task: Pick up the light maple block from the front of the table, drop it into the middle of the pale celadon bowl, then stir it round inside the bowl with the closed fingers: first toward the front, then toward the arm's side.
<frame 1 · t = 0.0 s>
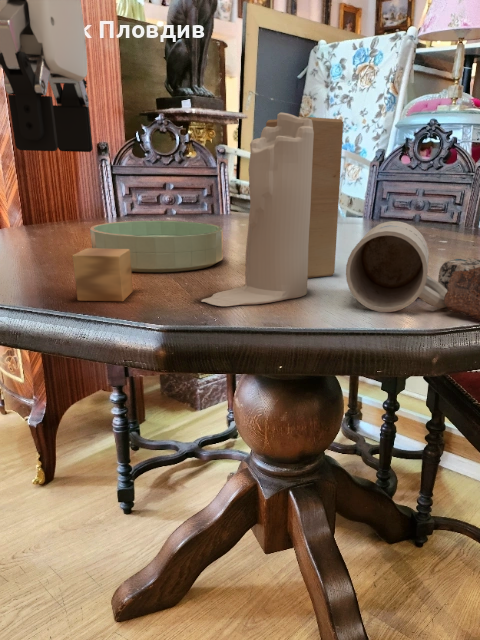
hand: (58, 151, 50), 15 cm above the table, tool pointing down, fingers open, 9 cm apart
decorative block: (298, 271, 82), on the table
block: (106, 296, 64), on the table
bowl: (159, 261, 85), on the table
candle: (256, 297, 66), on the table
stone: (471, 303, 62), point 1 cm above the table
mug: (403, 267, 69), point 3 cm above the table
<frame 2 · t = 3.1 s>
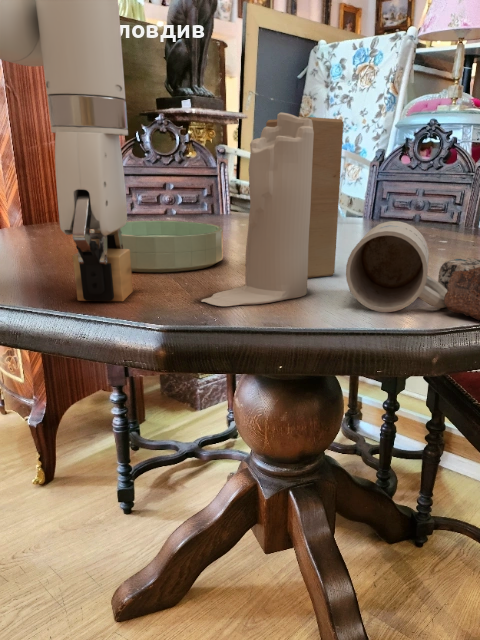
hand: (105, 292, 64), 0 cm above the table, tool pointing down, fingers closed on block, 5 cm apart
block: (106, 296, 64), on the table, touching gripper
everything else where it was.
when the fingers open (1 cm above the table, at t = 10.3 s): block stays where it is, resting on bowl.
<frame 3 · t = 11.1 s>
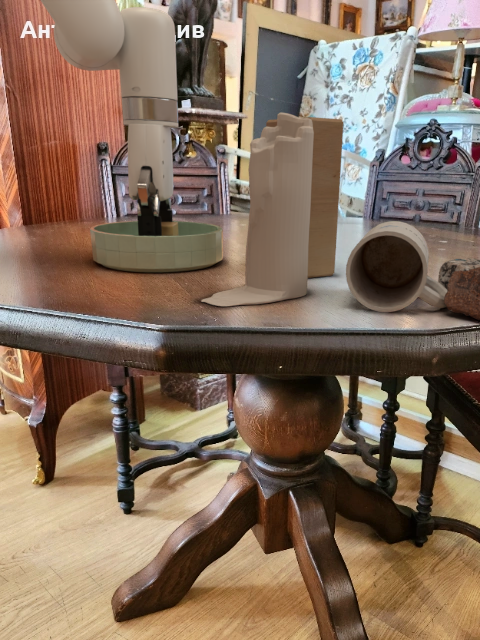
hand: (157, 240, 84), 3 cm above the table, tool pointing down, fingers open, 9 cm apart
block: (160, 257, 85), point 1 cm above the table, touching bowl
everything else where it was.
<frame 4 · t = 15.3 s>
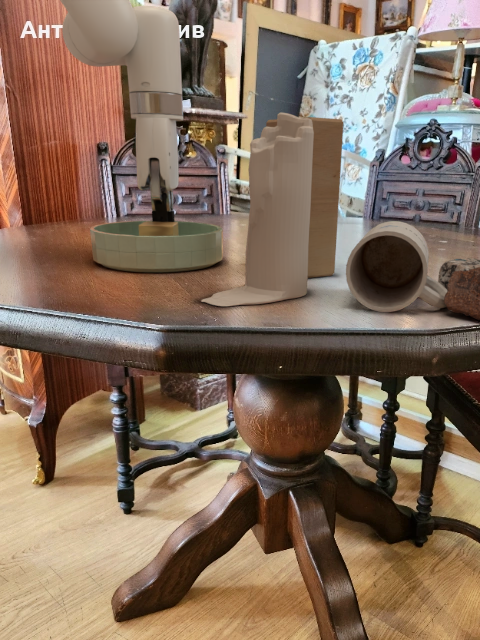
hand: (164, 237, 88), 3 cm above the table, tool pointing down, fingers closed
block: (160, 257, 85), point 1 cm above the table, touching bowl, gripper
everything else where it was.
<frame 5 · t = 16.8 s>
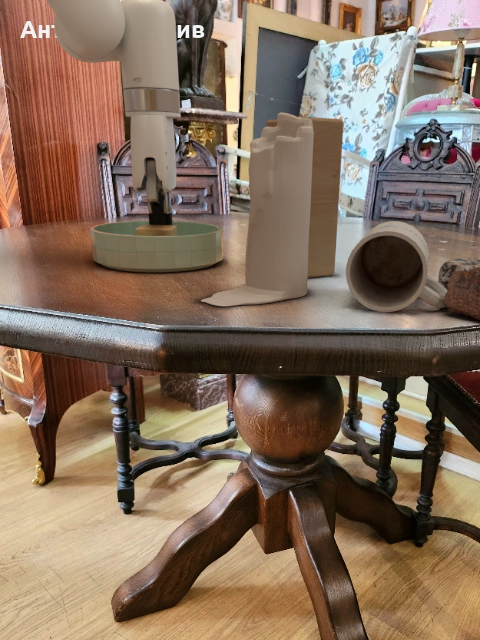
hand: (162, 240, 85), 3 cm above the table, tool pointing down, fingers closed
block: (158, 262, 81), point 1 cm above the table, touching bowl, gripper
everything else where it was.
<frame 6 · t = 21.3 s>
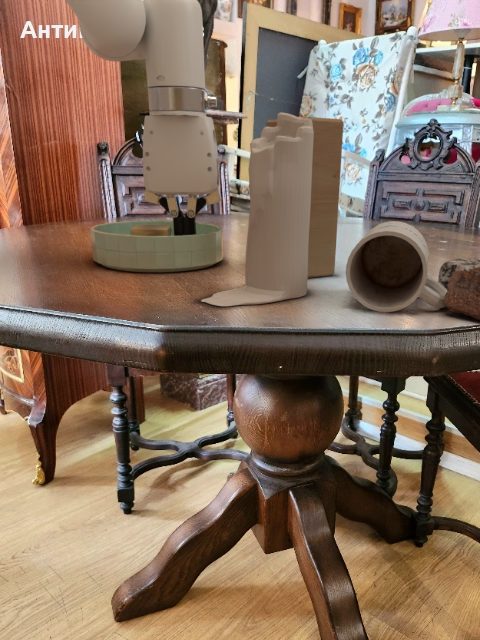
hand: (185, 244, 82), 3 cm above the table, tool pointing down, fingers closed
block: (153, 262, 81), point 1 cm above the table, touching gripper
everything else where it was.
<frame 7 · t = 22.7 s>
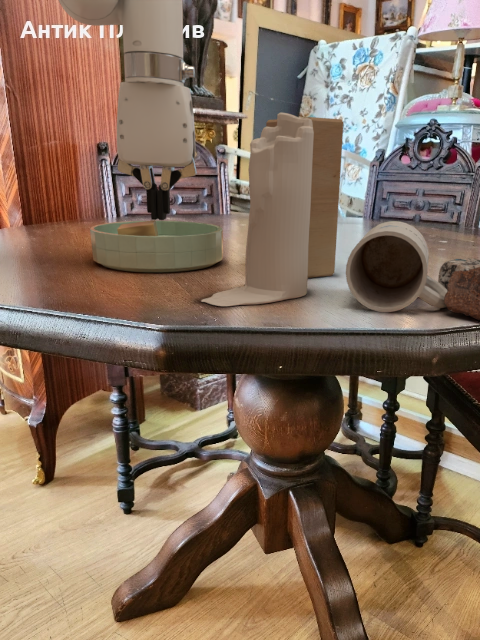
hand: (159, 218, 80), 7 cm above the table, tool pointing down, fingers closed
block: (144, 259, 81), point 1 cm above the table, tilted 8°, touching bowl
everything else where it was.
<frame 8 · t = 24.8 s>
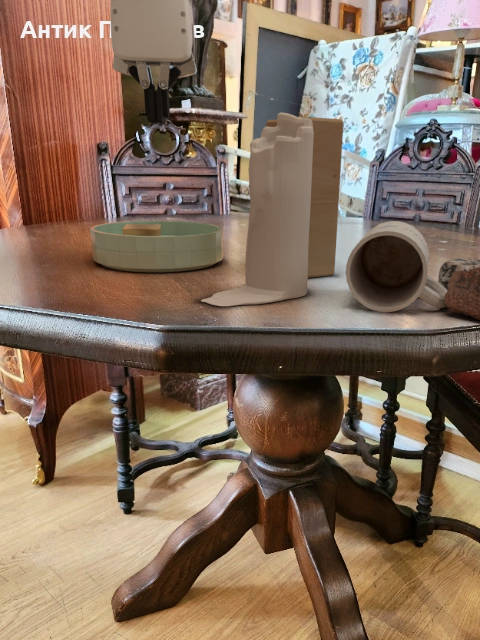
hand: (158, 123, 75), 19 cm above the table, tool pointing down, fingers closed
block: (144, 261, 82), point 1 cm above the table, touching bowl
everything else where it was.
at the end: block 1.8 cm from the target spot in the bowl, point 0.6 cm above the bowl's base; the gripper is holding nothing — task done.
